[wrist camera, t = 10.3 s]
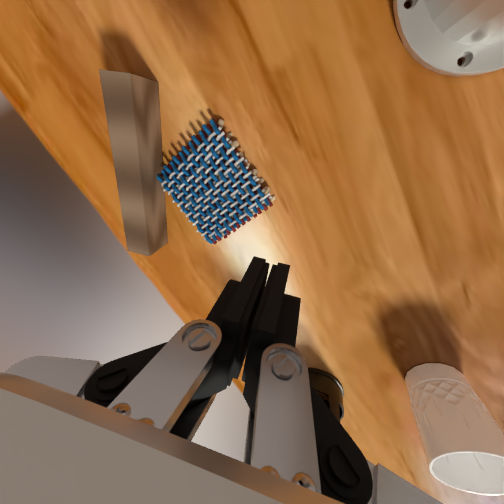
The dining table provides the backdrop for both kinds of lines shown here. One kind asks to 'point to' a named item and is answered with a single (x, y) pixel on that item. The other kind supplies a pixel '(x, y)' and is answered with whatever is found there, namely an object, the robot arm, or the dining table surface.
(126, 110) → the bar
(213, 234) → the woven mat
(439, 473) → the white cup
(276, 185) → the dining table surface
